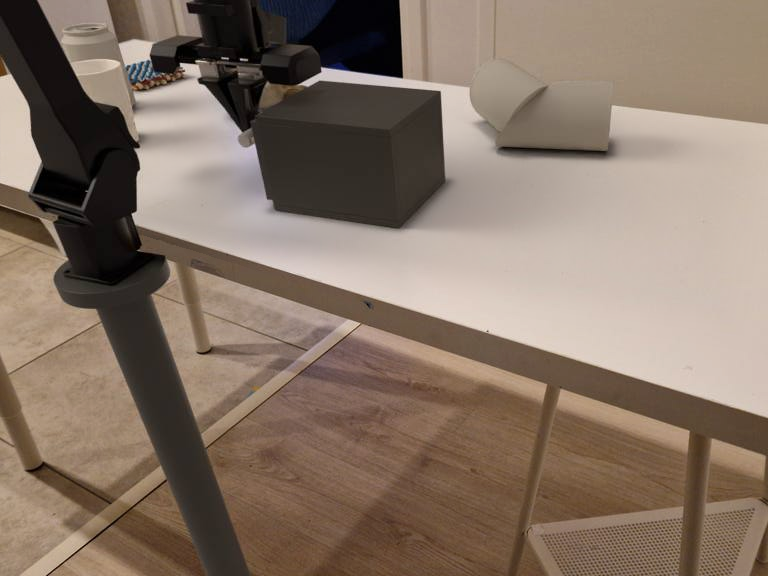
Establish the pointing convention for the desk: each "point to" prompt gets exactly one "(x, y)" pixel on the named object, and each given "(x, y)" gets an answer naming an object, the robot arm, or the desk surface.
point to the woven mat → (149, 75)
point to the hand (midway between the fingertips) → (250, 136)
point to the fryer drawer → (253, 138)
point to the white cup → (106, 86)
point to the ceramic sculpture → (277, 93)
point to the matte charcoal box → (354, 151)
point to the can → (93, 46)
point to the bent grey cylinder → (542, 108)
